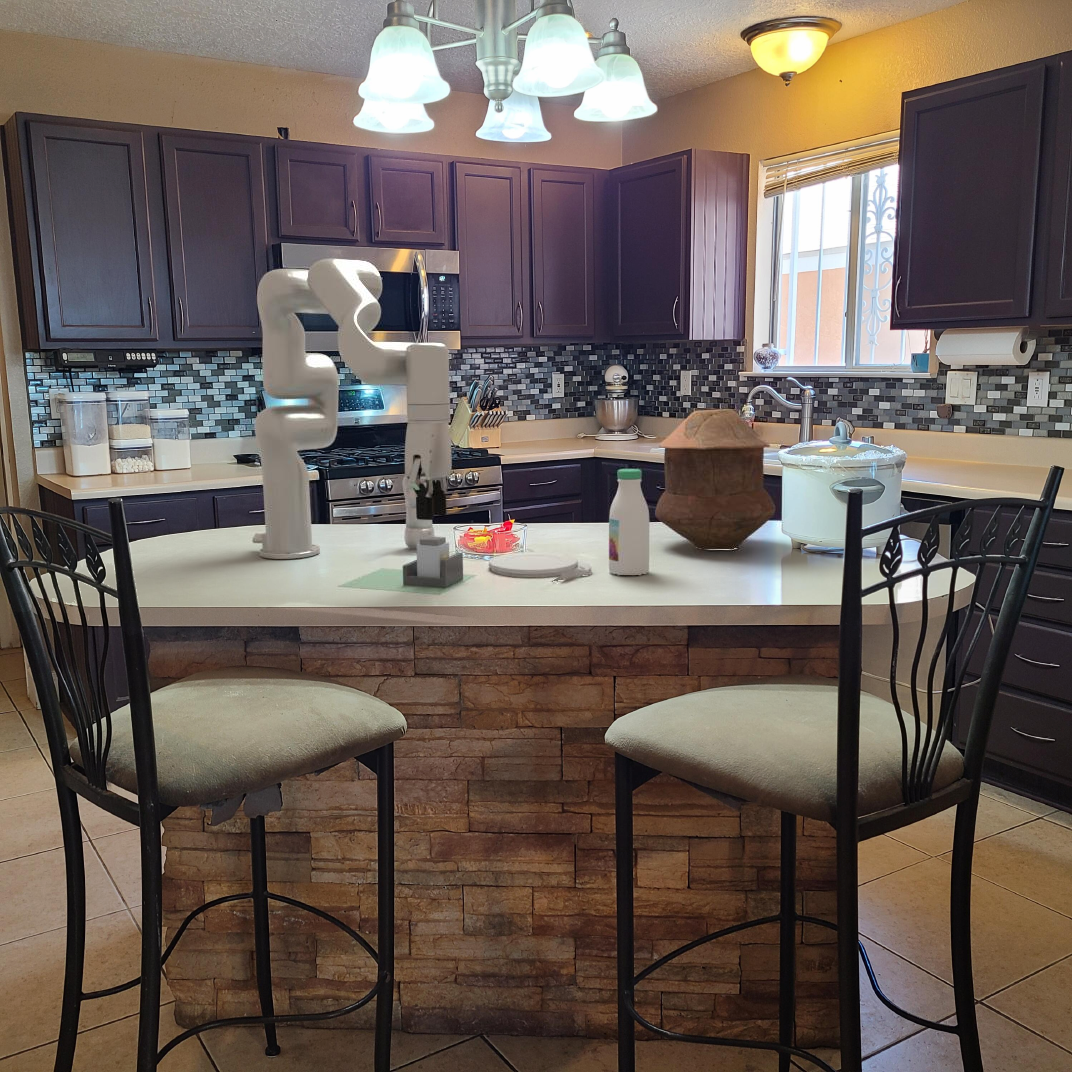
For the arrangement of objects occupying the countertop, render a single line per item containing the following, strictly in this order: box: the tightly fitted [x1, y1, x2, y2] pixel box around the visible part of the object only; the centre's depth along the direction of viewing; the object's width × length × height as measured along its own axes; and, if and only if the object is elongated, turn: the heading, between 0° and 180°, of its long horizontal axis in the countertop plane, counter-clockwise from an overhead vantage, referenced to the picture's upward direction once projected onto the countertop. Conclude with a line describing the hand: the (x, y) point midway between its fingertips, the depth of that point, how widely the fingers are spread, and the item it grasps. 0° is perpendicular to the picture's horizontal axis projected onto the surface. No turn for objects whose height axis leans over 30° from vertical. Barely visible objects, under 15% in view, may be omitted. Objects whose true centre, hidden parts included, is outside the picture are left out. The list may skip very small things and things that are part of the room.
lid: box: [488, 551, 592, 583], centre depth 191 cm, size 17×20×3 cm
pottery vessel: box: [654, 408, 776, 550], centre depth 213 cm, size 26×26×30 cm
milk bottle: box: [608, 468, 650, 576], centre depth 190 cm, size 8×8×20 cm
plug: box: [416, 536, 450, 578], centre depth 178 cm, size 5×4×8 cm
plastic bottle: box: [401, 475, 436, 550], centre depth 216 cm, size 6×7×20 cm
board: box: [337, 568, 477, 595], centre depth 181 cm, size 20×16×1 cm
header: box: [402, 552, 464, 588], centre depth 179 cm, size 8×7×5 cm
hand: (431, 516), depth 177 cm, fingers open, 4 cm apart
